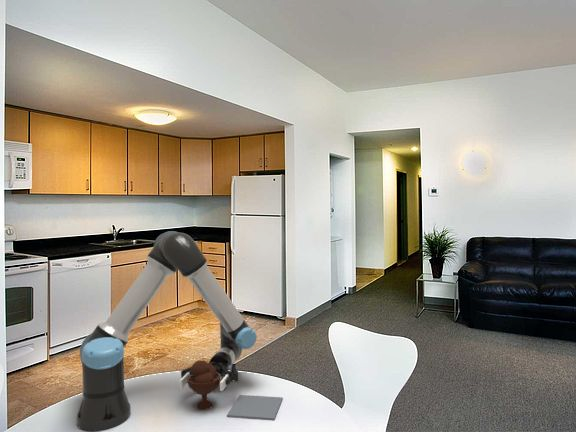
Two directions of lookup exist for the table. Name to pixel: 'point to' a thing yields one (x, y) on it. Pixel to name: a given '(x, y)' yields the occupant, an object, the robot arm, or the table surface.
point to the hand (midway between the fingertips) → (200, 385)
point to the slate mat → (255, 407)
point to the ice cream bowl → (203, 382)
